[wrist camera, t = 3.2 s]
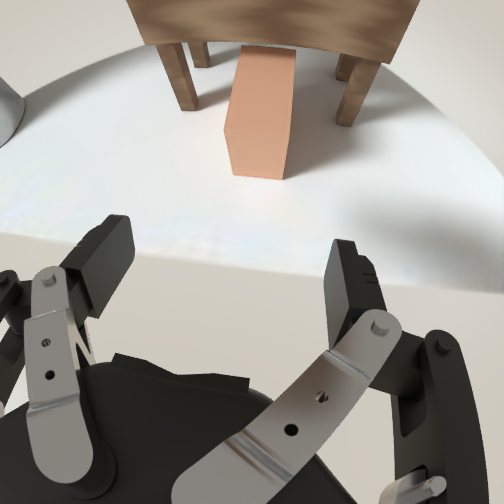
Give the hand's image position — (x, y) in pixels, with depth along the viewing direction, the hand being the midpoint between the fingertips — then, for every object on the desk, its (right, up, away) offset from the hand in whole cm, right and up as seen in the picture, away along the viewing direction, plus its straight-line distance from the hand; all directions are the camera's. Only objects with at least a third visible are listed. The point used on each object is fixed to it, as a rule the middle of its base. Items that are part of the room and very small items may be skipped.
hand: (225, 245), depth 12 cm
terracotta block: (+2, +11, +17) cm, 20 cm away
